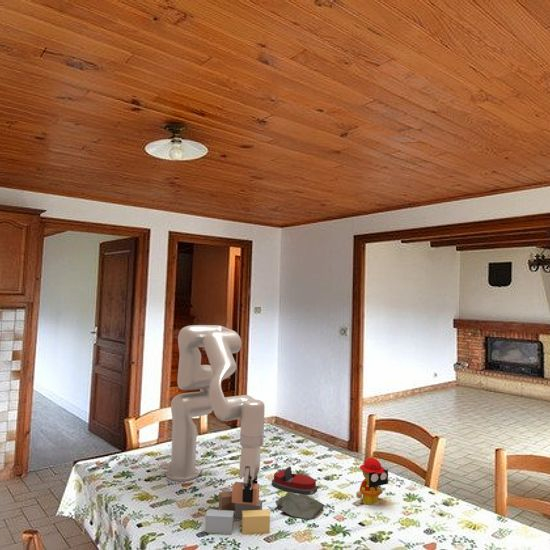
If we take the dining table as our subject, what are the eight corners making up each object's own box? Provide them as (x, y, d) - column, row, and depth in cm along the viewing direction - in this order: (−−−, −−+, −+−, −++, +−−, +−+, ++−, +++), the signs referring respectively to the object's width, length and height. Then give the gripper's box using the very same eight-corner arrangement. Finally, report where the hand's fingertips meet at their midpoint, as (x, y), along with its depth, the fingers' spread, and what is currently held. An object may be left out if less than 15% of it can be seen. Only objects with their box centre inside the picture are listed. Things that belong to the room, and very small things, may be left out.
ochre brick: (242, 534, 131) (243, 516, 132) (241, 527, 135) (242, 510, 136) (269, 533, 133) (270, 515, 133) (267, 526, 137) (268, 509, 137)
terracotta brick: (231, 502, 141) (232, 486, 141) (234, 497, 145) (235, 481, 145) (256, 505, 139) (257, 488, 140) (258, 500, 143) (259, 484, 144)
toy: (366, 510, 149) (367, 464, 150) (350, 499, 157) (351, 456, 158) (392, 504, 154) (393, 460, 155) (375, 494, 162) (376, 452, 163)
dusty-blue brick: (204, 533, 131) (205, 515, 132) (207, 526, 135) (207, 509, 136) (231, 534, 131) (232, 516, 131) (233, 527, 135) (234, 510, 135)
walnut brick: (221, 513, 144) (221, 497, 145) (218, 507, 148) (219, 492, 148) (245, 510, 147) (245, 494, 147) (242, 504, 151) (242, 489, 151)
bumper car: (309, 498, 158) (310, 469, 159) (261, 485, 168) (262, 458, 168) (320, 488, 167) (321, 461, 167) (274, 477, 176) (275, 451, 177)
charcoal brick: (234, 519, 140) (235, 503, 140) (237, 513, 144) (238, 497, 144) (259, 522, 139) (259, 505, 139) (261, 516, 143) (262, 500, 143)
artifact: (269, 512, 147) (310, 525, 139) (269, 500, 147) (310, 512, 139) (289, 496, 158) (328, 507, 151) (290, 485, 159) (328, 495, 151)
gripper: (246, 431, 152) (244, 485, 151) (233, 447, 135) (231, 508, 134) (268, 433, 151) (266, 488, 150) (257, 449, 134) (255, 511, 133)
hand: (249, 497), depth 142 cm, fingers open, 6 cm apart
